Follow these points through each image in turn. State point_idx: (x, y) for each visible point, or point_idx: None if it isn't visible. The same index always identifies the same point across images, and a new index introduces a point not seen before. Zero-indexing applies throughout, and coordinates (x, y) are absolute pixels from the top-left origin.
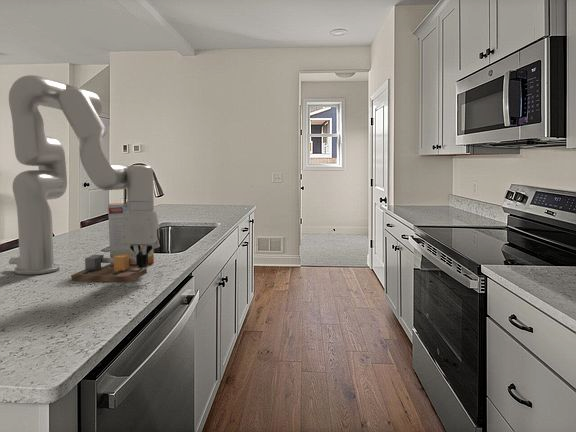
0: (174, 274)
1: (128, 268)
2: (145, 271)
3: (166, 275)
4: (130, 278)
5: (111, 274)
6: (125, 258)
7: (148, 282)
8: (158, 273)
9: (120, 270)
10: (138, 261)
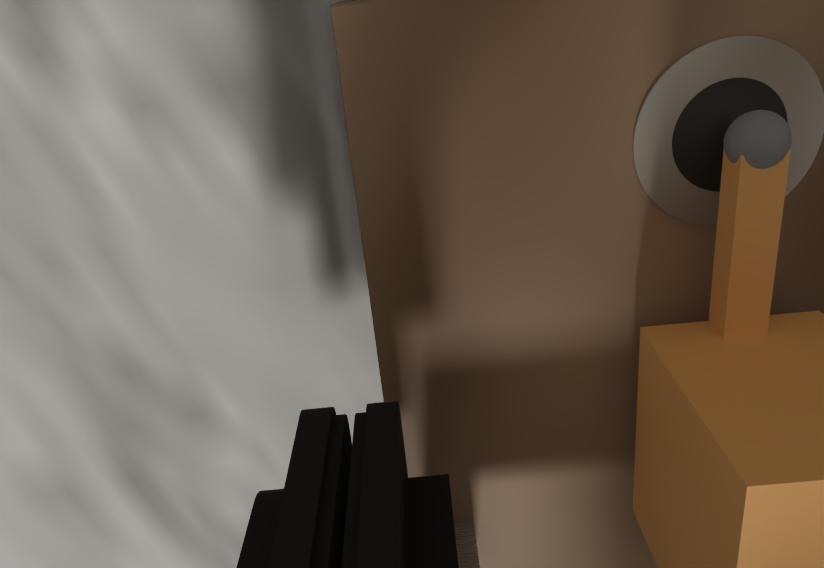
0: (15, 544)
1: None
2: None
3: (78, 482)
4: (352, 2)
5: (784, 93)
6: (714, 535)
7: (49, 38)
8: None
9: None
10: (378, 471)
